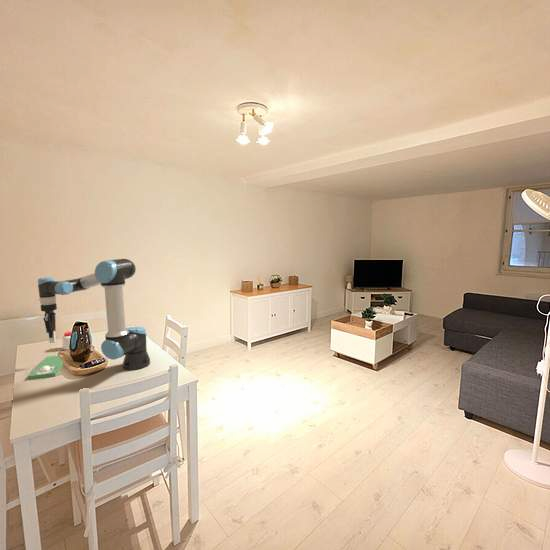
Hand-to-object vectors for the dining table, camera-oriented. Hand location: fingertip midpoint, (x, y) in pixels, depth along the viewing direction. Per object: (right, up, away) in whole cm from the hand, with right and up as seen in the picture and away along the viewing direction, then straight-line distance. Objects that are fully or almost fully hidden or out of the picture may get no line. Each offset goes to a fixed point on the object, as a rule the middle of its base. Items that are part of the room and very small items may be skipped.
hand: (52, 342), depth 180 cm
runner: (+1, -14, -3) cm, 15 cm away
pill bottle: (-8, -10, +28) cm, 31 cm away
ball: (+4, -13, -11) cm, 17 cm away
